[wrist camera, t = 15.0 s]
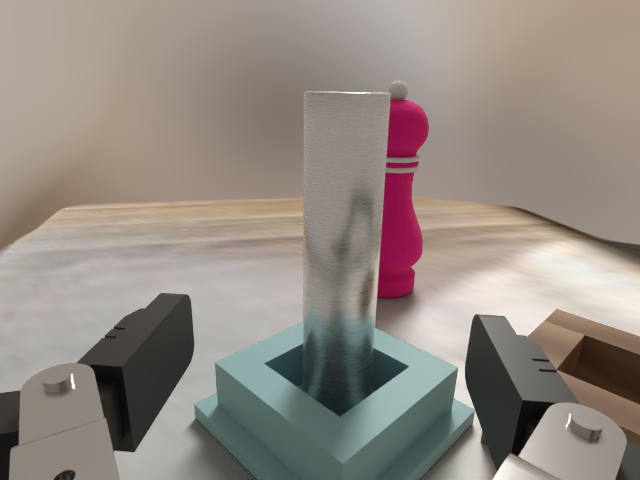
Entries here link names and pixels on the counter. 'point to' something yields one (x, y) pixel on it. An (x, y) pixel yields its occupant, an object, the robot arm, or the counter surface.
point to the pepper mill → (400, 195)
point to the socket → (324, 425)
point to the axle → (342, 242)
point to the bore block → (595, 366)
